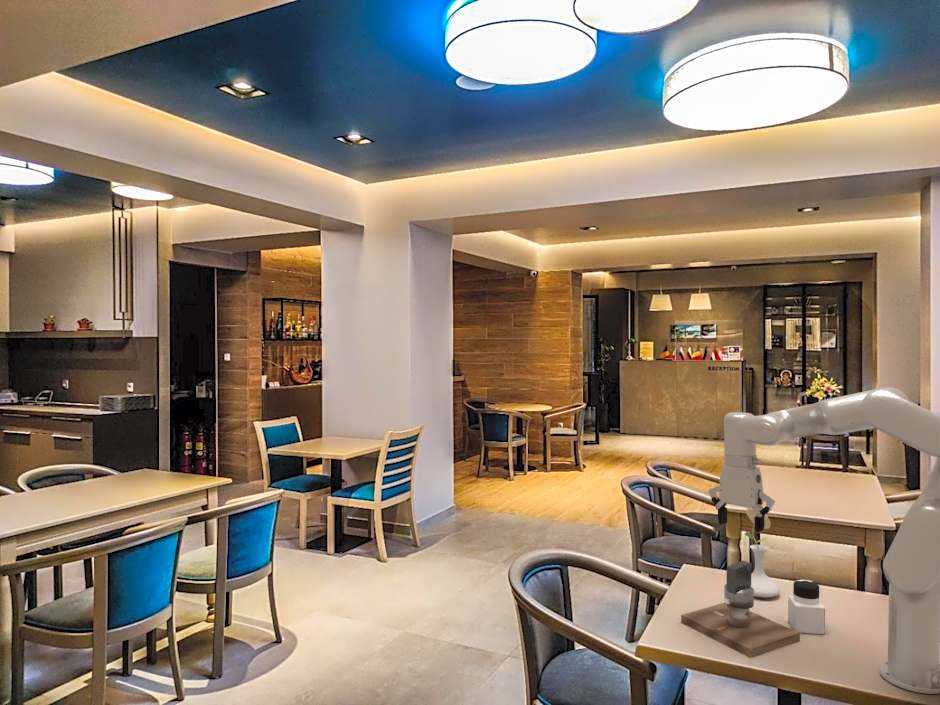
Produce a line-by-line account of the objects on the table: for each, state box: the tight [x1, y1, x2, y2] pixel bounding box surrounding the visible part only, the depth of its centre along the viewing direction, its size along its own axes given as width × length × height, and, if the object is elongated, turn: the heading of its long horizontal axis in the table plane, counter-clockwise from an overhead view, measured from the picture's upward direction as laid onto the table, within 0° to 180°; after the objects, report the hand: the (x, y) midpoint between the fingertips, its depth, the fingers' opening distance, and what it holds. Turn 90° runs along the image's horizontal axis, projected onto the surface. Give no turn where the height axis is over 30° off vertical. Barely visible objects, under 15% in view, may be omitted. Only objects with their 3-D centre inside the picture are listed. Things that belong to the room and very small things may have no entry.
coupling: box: [723, 560, 755, 610], centre depth 171 cm, size 10×7×10 cm
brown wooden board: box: [680, 602, 801, 659], centre depth 172 cm, size 22×18×7 cm
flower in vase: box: [744, 507, 781, 598], centre depth 197 cm, size 13×11×25 cm
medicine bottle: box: [787, 579, 826, 635], centre depth 174 cm, size 7×7×12 cm
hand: (740, 527), depth 171 cm, fingers open, 9 cm apart
